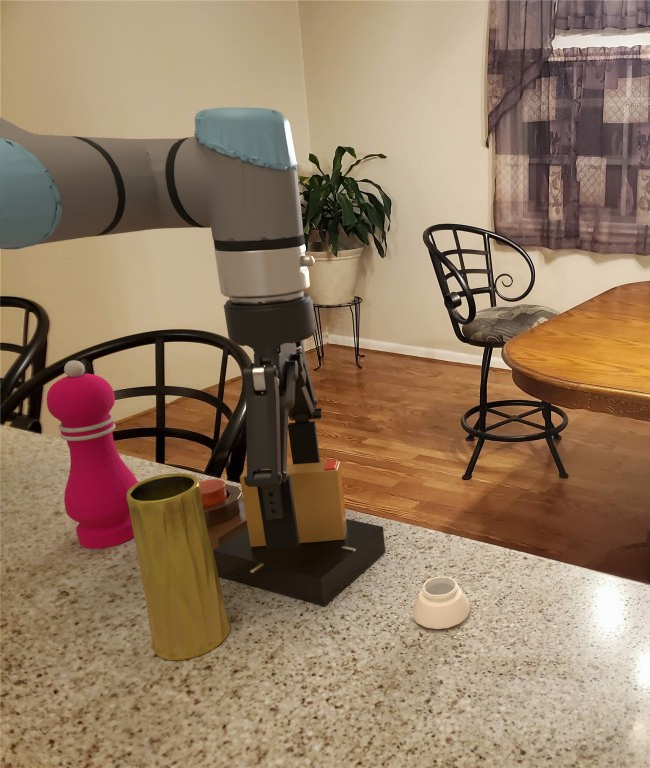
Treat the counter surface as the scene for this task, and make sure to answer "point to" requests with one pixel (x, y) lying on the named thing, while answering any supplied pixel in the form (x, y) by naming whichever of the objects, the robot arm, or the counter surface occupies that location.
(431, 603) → the white jar
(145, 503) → the vase
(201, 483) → the button
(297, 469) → the yellow block
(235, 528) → the drain block
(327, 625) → the counter surface
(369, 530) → the black square base
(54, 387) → the pepper mill
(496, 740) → the counter surface
